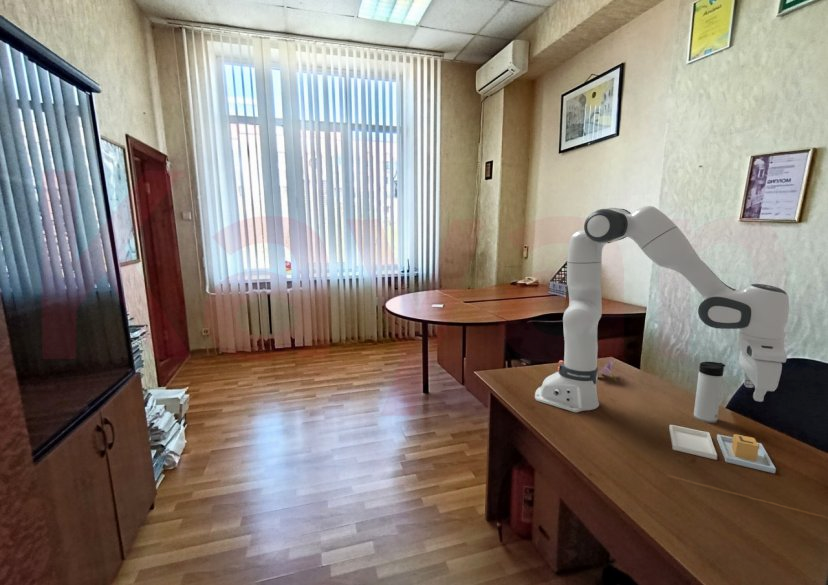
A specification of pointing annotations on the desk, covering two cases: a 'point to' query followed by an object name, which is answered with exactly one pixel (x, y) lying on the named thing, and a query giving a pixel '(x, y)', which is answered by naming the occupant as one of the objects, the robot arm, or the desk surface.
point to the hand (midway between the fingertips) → (752, 393)
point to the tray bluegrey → (760, 464)
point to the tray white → (692, 441)
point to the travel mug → (708, 391)
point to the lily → (607, 368)
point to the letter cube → (745, 447)
